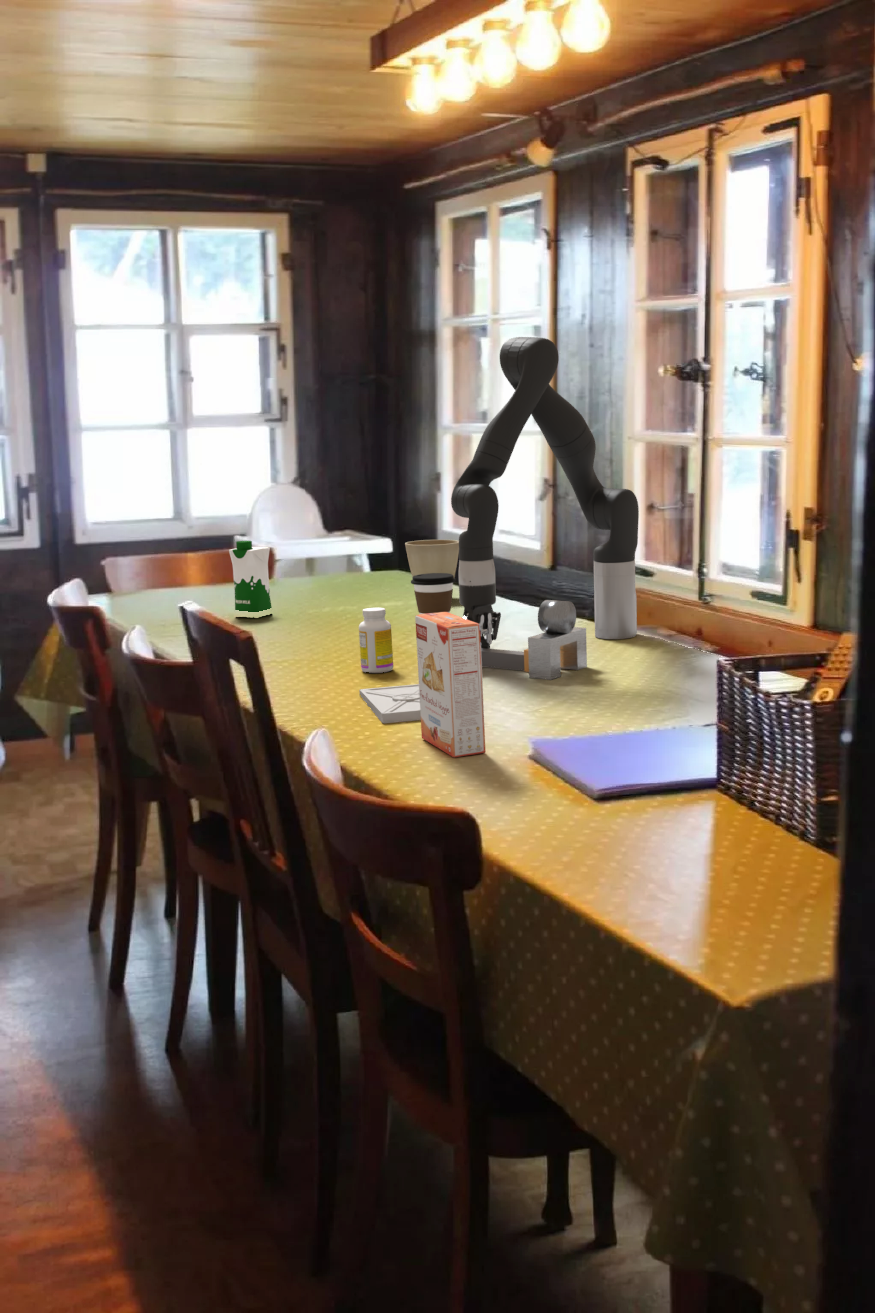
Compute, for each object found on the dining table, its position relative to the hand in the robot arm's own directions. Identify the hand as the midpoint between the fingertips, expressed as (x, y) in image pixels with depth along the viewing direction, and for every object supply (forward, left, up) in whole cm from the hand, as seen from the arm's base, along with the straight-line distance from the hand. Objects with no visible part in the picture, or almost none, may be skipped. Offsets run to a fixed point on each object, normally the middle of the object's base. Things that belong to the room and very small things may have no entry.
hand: (479, 663), depth 288 cm
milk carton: (-30, -92, 0) cm, 97 cm away
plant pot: (-71, -63, 0) cm, 95 cm away
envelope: (+37, +9, -1) cm, 39 cm away
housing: (0, +19, 0) cm, 19 cm away
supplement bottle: (+14, -16, 0) cm, 21 cm away
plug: (0, +8, 0) cm, 8 cm away
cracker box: (+58, +34, 0) cm, 67 cm away
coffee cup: (-38, -39, 0) cm, 54 cm away
